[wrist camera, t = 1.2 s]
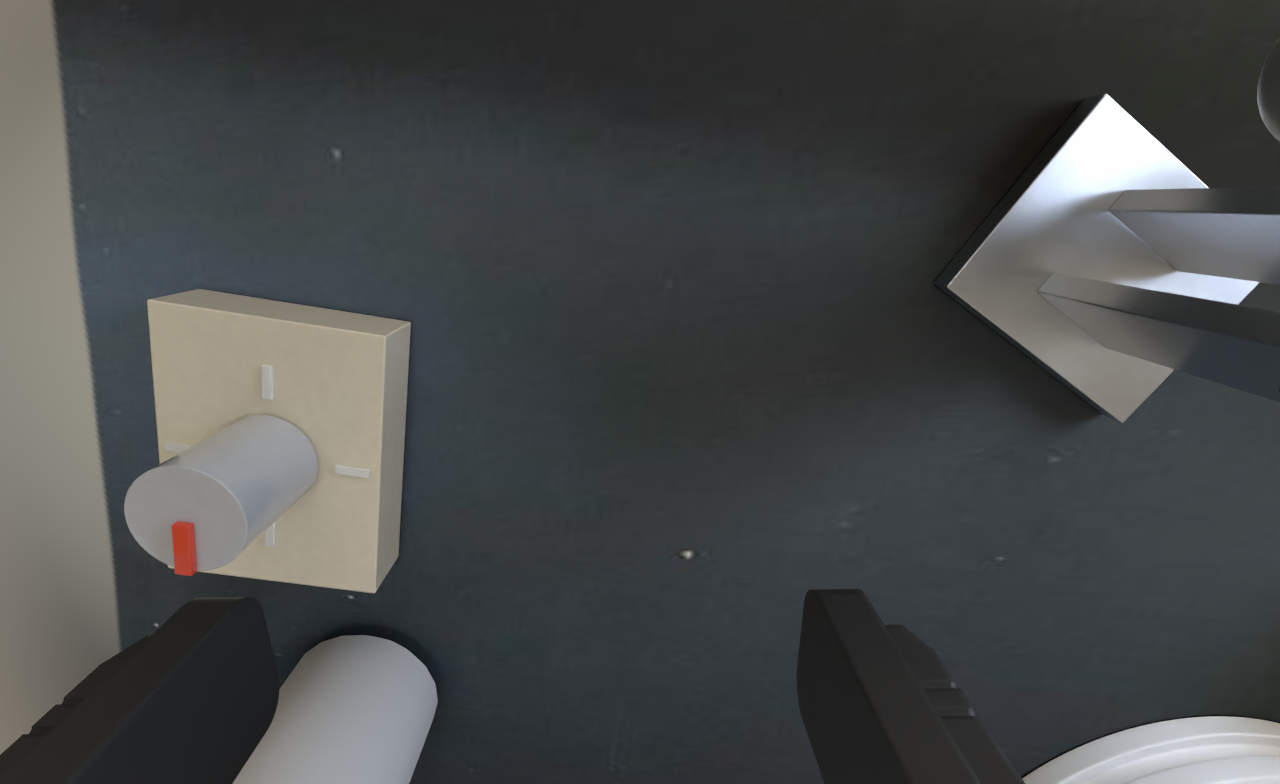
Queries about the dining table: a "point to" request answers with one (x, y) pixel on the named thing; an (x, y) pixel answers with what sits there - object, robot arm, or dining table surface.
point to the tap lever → (1270, 91)
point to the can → (347, 717)
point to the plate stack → (1174, 755)
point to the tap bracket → (1125, 267)
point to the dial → (220, 493)
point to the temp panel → (295, 421)
